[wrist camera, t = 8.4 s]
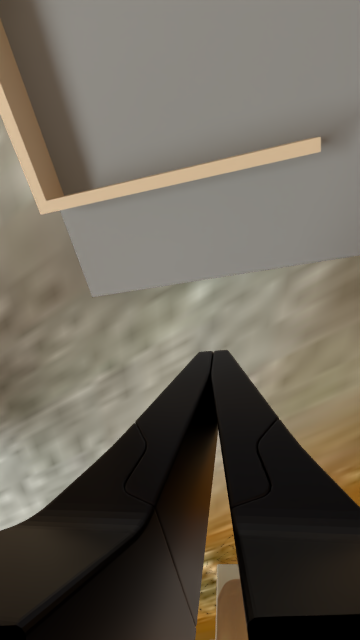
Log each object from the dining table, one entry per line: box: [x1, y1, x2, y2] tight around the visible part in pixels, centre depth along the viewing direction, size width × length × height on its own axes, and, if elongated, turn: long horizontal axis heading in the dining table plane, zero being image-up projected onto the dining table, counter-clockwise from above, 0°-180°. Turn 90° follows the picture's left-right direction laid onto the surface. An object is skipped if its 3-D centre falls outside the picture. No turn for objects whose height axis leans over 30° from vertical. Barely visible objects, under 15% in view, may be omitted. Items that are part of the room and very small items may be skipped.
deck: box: [0, 0, 360, 297], centre depth 13 cm, size 24×14×4 cm, turn 102°
